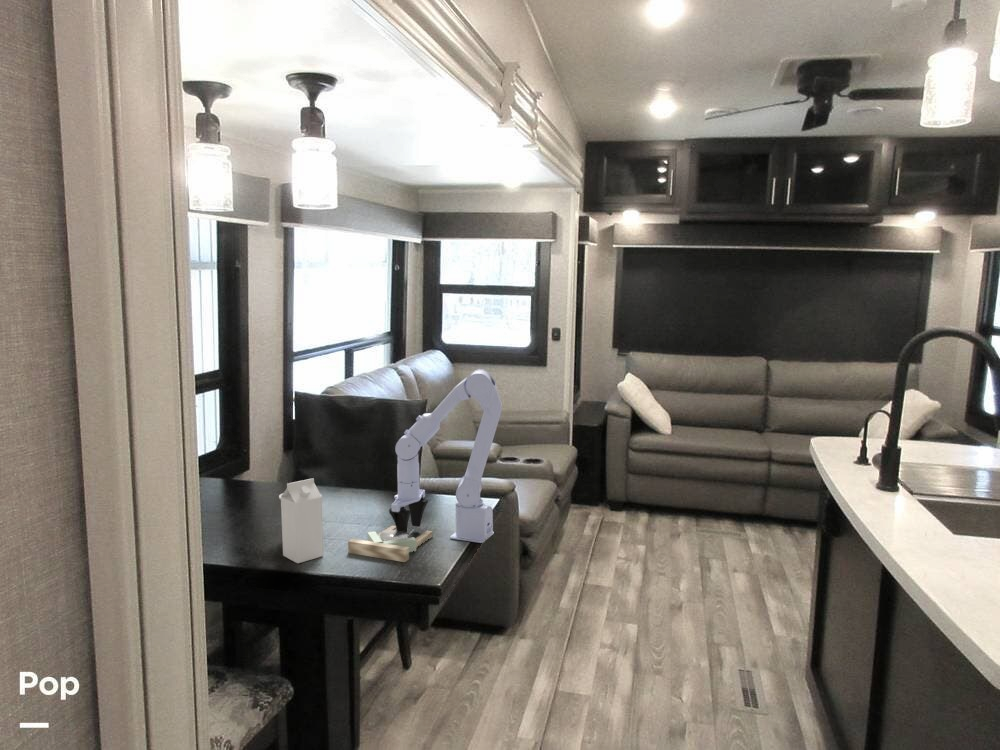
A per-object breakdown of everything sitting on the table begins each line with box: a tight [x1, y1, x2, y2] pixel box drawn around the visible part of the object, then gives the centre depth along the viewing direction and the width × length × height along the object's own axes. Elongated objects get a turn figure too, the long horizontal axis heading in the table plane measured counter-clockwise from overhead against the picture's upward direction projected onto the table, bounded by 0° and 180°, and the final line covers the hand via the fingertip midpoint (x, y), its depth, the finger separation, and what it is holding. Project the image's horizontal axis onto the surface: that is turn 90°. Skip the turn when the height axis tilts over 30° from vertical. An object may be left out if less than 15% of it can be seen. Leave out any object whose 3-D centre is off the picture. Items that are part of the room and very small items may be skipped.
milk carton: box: [280, 477, 324, 564], centre depth 172 cm, size 7×7×19 cm
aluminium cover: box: [380, 530, 409, 541], centre depth 180 cm, size 7×7×3 cm
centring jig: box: [347, 525, 433, 563], centre depth 181 cm, size 16×18×3 cm
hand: (409, 530), depth 188 cm, fingers open, 7 cm apart
